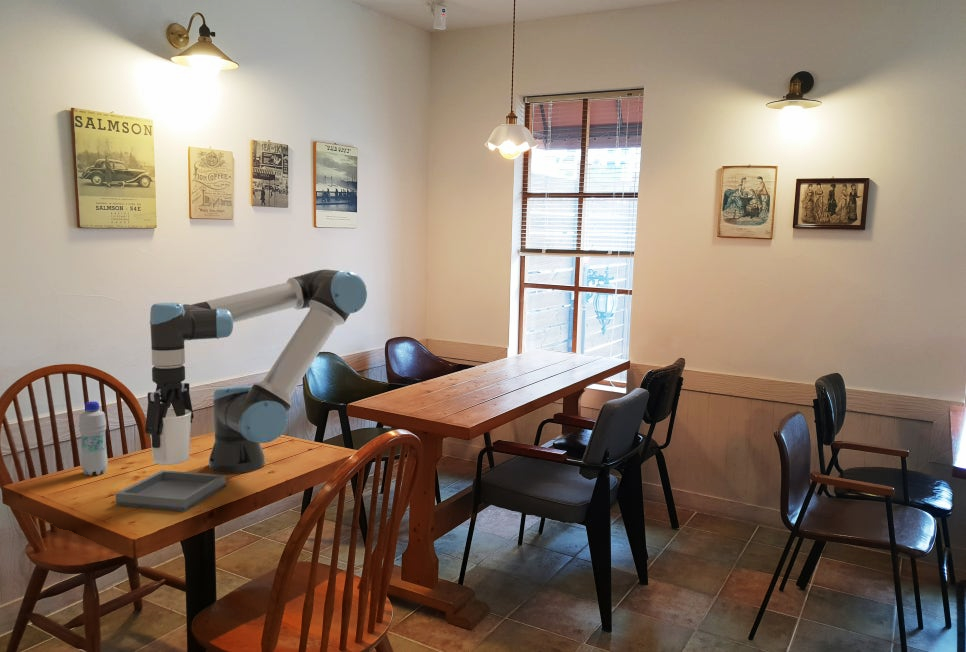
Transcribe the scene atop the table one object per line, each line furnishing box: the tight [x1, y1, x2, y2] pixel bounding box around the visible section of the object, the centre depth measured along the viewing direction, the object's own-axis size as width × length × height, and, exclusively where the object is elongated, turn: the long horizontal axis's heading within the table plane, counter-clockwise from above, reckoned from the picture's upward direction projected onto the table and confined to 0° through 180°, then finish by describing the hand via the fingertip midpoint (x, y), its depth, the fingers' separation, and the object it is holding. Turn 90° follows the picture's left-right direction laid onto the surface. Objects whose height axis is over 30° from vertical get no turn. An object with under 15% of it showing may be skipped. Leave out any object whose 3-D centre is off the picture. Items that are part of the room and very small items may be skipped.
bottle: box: [78, 400, 108, 476], centre depth 199 cm, size 7×7×20 cm
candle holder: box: [149, 408, 192, 466], centre depth 182 cm, size 10×10×12 cm
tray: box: [115, 469, 227, 513], centre depth 184 cm, size 18×18×3 cm
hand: (171, 454), depth 182 cm, fingers closed on candle holder, 9 cm apart
